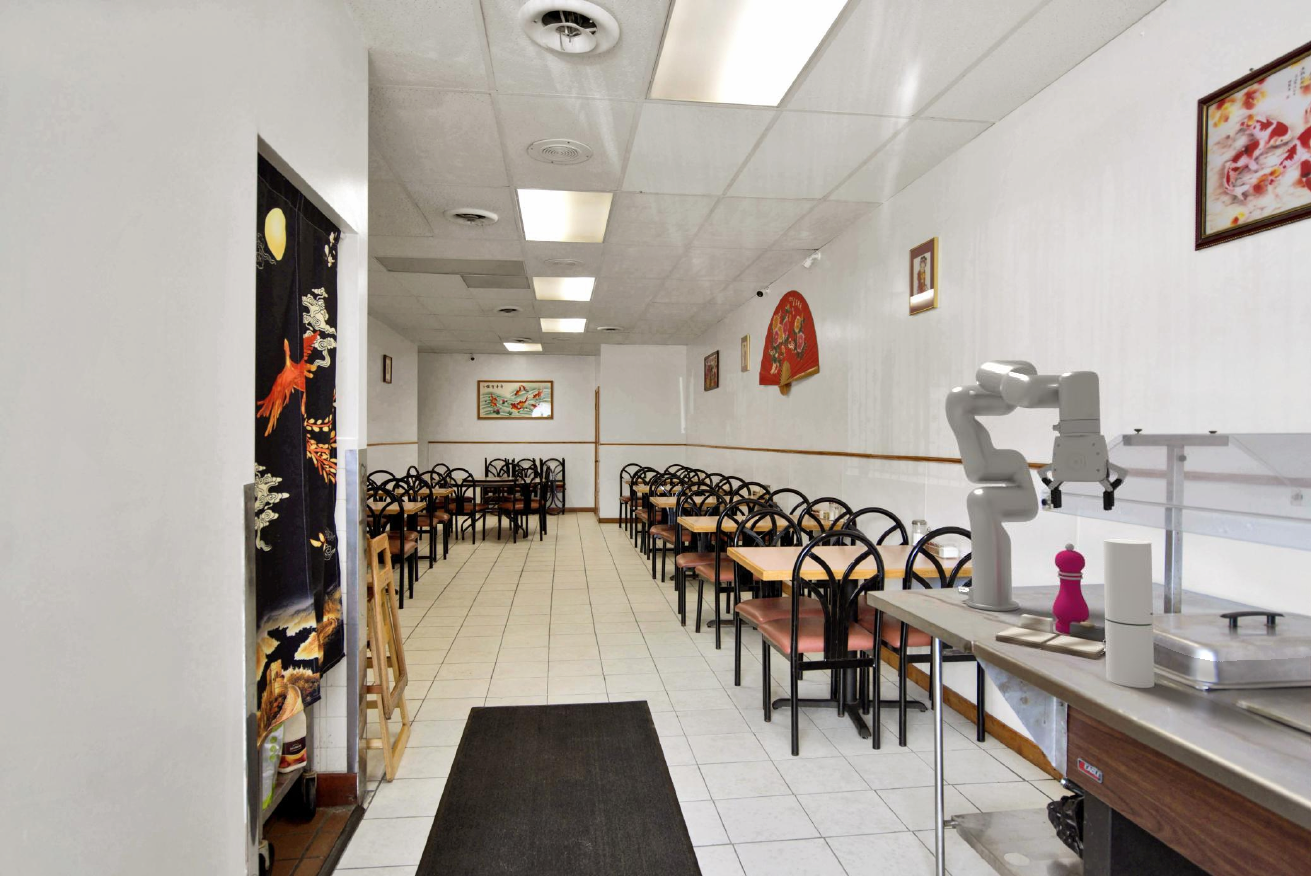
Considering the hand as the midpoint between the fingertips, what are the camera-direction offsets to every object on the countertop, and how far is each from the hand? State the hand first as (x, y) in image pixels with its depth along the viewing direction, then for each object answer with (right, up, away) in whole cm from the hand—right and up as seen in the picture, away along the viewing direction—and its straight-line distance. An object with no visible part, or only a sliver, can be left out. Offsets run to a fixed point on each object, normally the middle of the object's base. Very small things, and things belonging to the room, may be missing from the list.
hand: (1082, 509), depth 150 cm
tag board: (-6, -29, 0) cm, 29 cm away
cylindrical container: (-6, -29, -24) cm, 38 cm away
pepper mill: (+3, -29, +10) cm, 31 cm away
